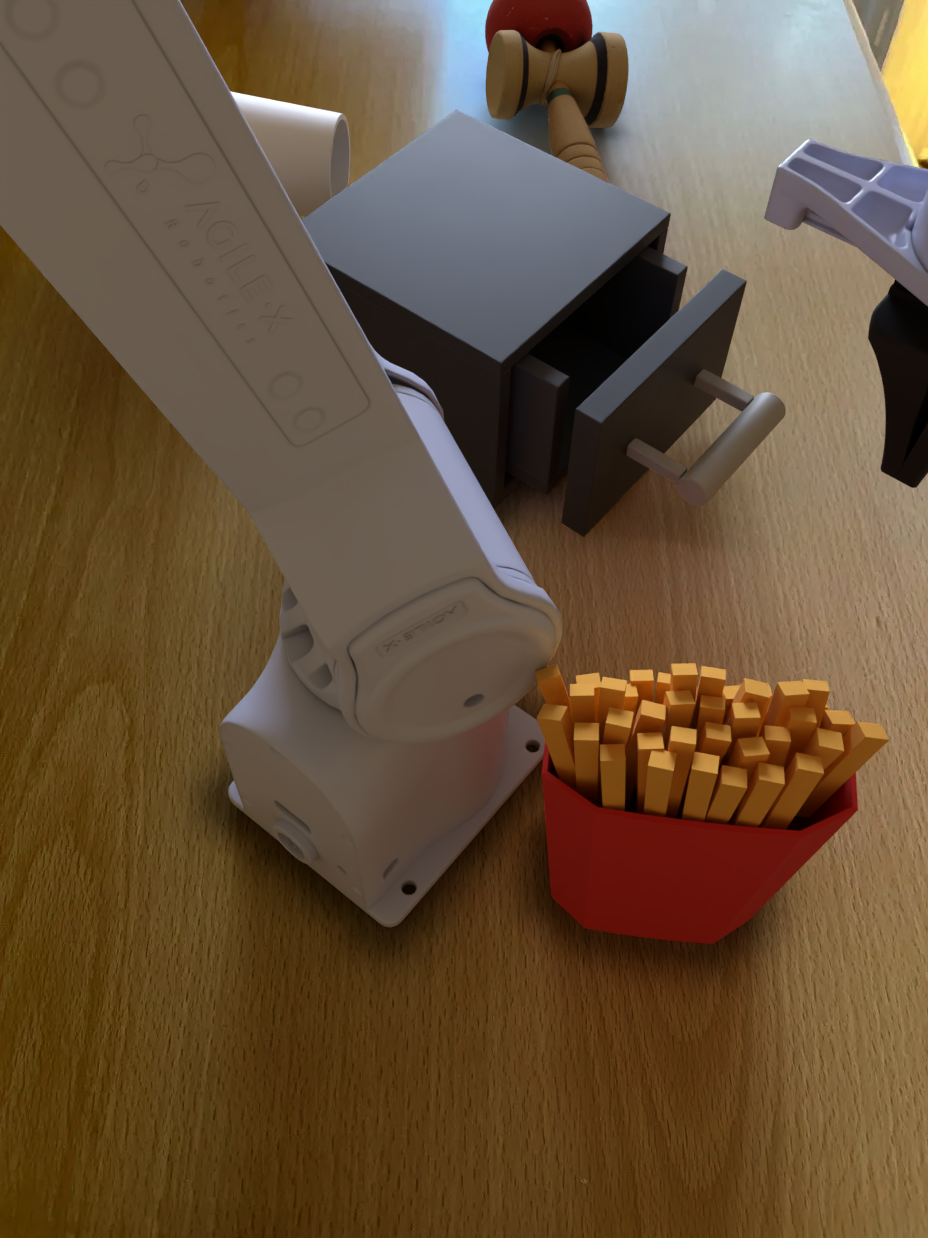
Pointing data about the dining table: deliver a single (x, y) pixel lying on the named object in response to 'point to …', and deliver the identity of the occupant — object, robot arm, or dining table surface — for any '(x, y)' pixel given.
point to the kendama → (556, 73)
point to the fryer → (475, 265)
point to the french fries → (689, 795)
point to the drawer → (632, 392)
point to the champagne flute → (301, 148)
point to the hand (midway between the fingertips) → (909, 463)
